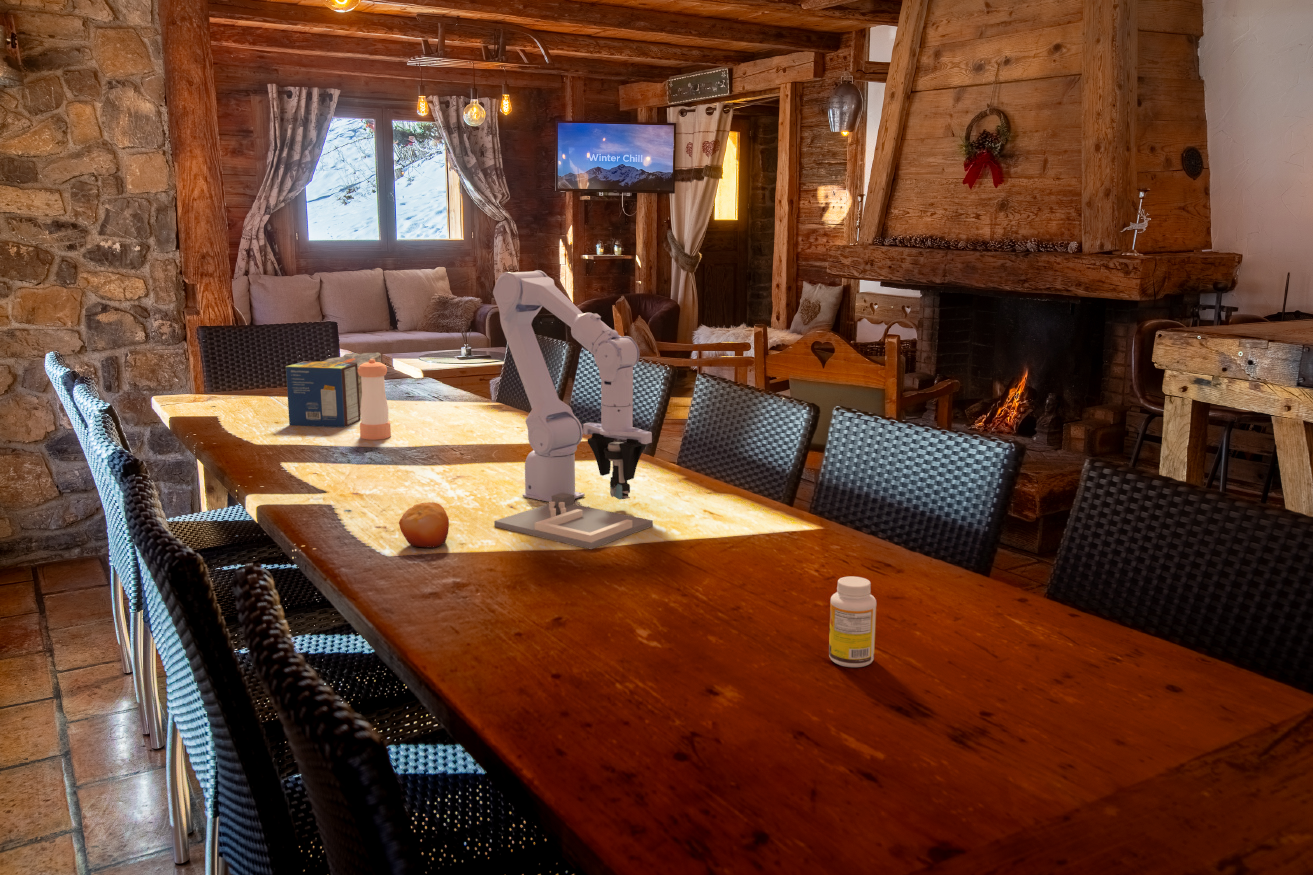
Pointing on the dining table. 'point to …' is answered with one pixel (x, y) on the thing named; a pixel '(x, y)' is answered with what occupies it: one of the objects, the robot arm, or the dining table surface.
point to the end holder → (552, 527)
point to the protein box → (323, 394)
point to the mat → (573, 524)
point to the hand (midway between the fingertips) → (616, 476)
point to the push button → (617, 472)
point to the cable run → (560, 503)
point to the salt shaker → (373, 402)
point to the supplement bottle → (852, 623)
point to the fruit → (425, 525)
